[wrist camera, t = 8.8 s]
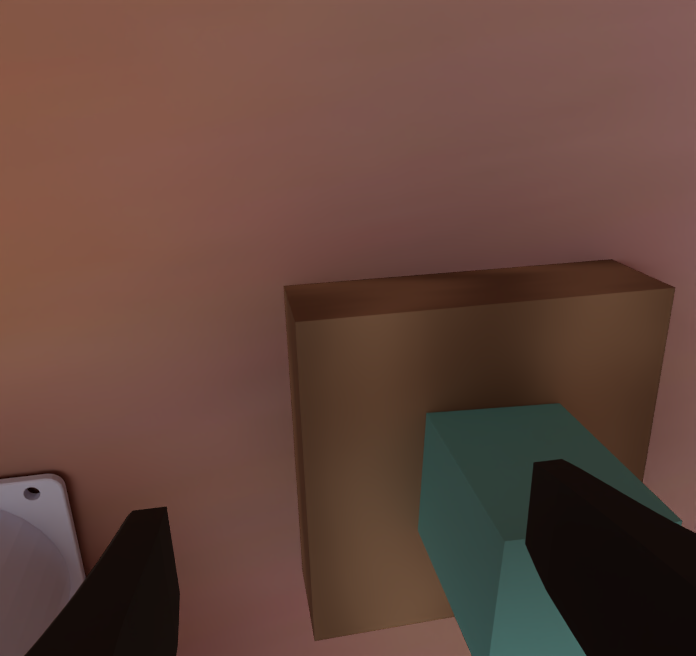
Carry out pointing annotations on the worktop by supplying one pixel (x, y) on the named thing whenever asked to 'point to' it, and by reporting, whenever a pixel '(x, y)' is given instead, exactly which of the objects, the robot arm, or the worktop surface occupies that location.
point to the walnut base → (446, 405)
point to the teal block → (503, 519)
